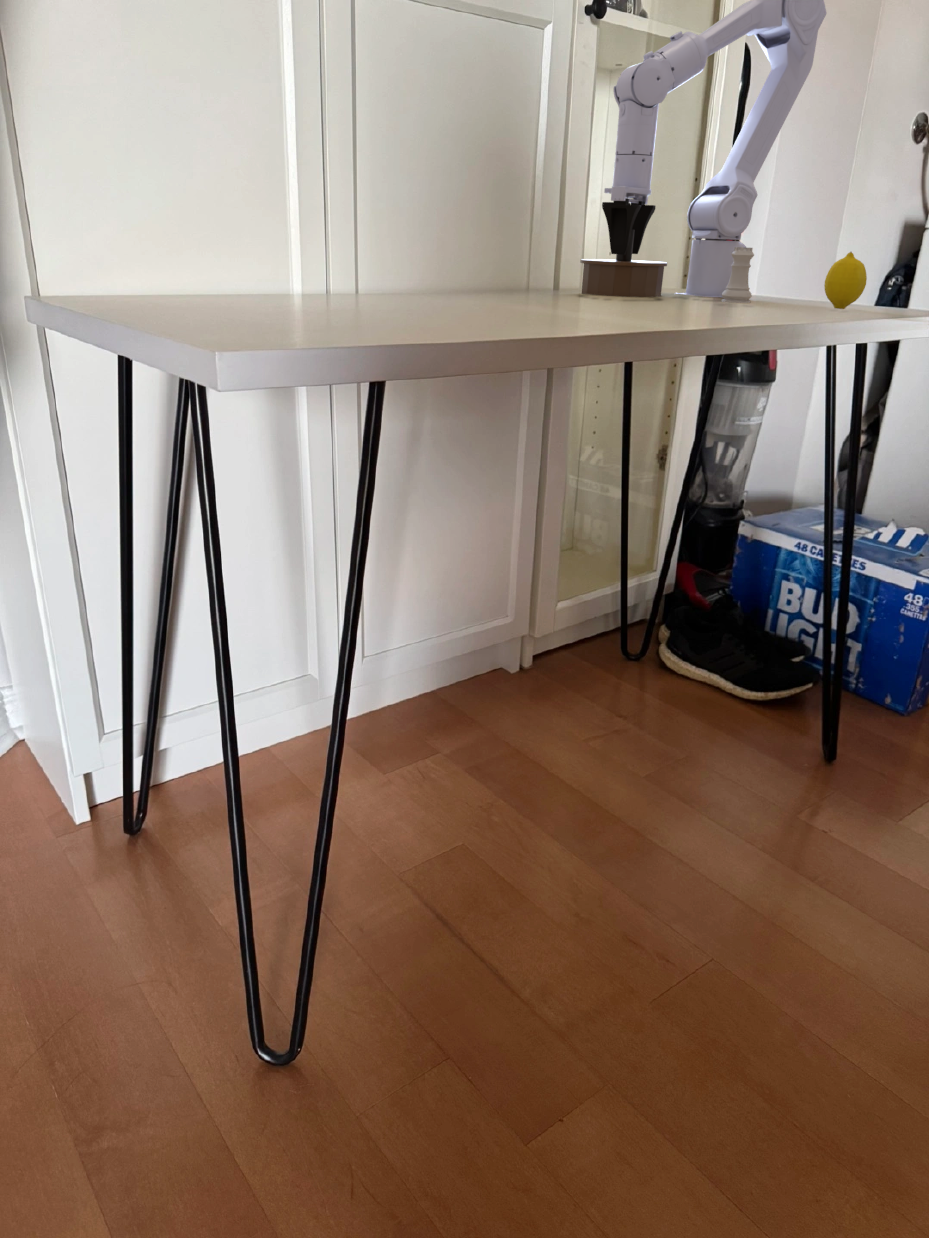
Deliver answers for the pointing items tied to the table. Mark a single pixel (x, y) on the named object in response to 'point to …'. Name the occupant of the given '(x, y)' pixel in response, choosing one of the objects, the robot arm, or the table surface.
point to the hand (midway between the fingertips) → (624, 254)
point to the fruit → (845, 281)
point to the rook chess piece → (739, 277)
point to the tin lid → (624, 258)
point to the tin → (622, 280)
